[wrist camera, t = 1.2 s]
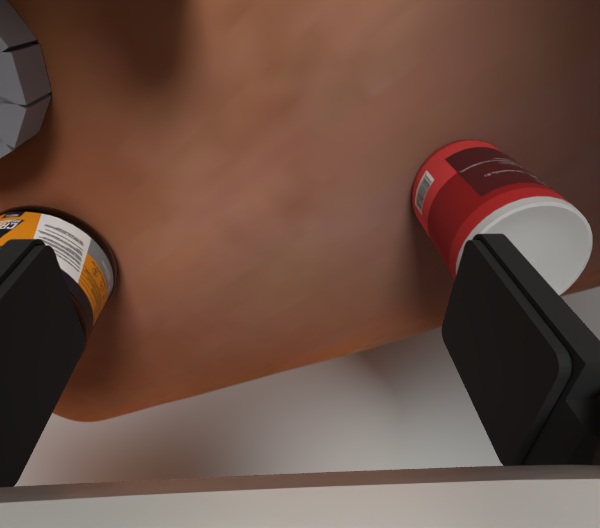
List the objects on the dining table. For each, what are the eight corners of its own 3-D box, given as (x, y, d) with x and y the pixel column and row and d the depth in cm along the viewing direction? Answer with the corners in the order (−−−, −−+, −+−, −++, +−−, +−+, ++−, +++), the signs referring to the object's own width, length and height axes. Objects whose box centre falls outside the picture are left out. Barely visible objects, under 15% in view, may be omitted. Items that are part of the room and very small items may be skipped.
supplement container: (97, 193, 32) (21, 290, 22) (136, 301, 38) (89, 415, 28) (-42, 205, 32) (-181, 307, 22) (18, 311, 38) (-71, 429, 28)
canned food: (430, 245, 37) (483, 333, 28) (392, 170, 33) (439, 246, 23) (517, 200, 35) (605, 280, 26) (488, 116, 31) (580, 175, 22)
